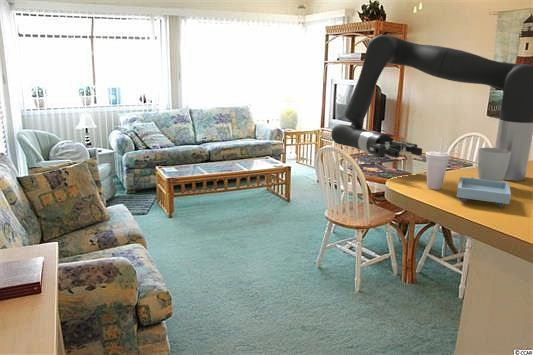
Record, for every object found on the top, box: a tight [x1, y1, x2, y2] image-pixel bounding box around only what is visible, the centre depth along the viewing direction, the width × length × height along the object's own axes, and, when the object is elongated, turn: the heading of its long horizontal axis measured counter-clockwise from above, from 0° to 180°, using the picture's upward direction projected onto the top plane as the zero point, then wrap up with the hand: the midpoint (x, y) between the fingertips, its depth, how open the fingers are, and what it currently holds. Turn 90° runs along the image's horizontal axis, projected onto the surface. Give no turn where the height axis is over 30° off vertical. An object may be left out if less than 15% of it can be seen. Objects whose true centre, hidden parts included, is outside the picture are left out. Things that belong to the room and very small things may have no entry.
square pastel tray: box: [456, 176, 512, 208], centre depth 112 cm, size 12×12×4 cm
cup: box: [477, 147, 511, 182], centre depth 126 cm, size 8×8×10 cm
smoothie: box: [424, 137, 451, 191], centre depth 121 cm, size 6×6×14 cm
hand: (409, 153), depth 130 cm, fingers open, 8 cm apart
